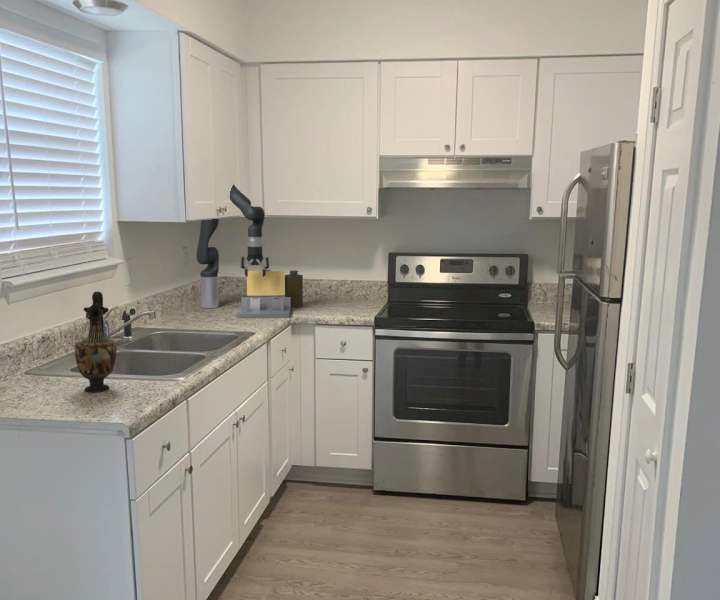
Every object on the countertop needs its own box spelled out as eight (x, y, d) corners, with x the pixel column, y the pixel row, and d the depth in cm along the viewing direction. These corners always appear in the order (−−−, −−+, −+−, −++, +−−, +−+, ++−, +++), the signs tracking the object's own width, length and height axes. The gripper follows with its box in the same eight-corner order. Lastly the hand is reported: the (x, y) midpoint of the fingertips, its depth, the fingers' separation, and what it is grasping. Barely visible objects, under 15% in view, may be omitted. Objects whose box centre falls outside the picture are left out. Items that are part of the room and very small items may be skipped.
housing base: (241, 311, 325) (241, 295, 324) (290, 311, 327) (290, 295, 326) (237, 318, 306) (236, 301, 304) (289, 317, 308) (288, 301, 306)
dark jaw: (272, 308, 322) (272, 297, 321) (281, 308, 322) (281, 297, 321) (271, 310, 317) (271, 299, 316) (281, 310, 317) (281, 299, 316)
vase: (71, 395, 182) (64, 296, 177) (86, 383, 194) (80, 290, 189) (111, 394, 183) (106, 296, 178) (124, 382, 195) (119, 290, 190)
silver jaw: (251, 308, 321) (251, 297, 320) (260, 308, 321) (260, 297, 321) (250, 310, 316) (250, 299, 315) (260, 310, 317) (259, 299, 316)
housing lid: (247, 296, 323) (247, 296, 324) (284, 296, 325) (284, 296, 326) (246, 269, 323) (247, 269, 324) (284, 269, 325) (284, 269, 326)
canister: (297, 303, 351) (297, 269, 348) (306, 306, 343) (306, 271, 340) (280, 305, 346) (280, 270, 342) (289, 308, 337) (288, 272, 334)
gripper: (269, 245, 318) (269, 275, 320) (241, 244, 317) (242, 275, 319) (268, 246, 310) (268, 277, 313) (240, 245, 309) (240, 277, 312)
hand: (255, 276), depth 316 cm, fingers open, 8 cm apart
